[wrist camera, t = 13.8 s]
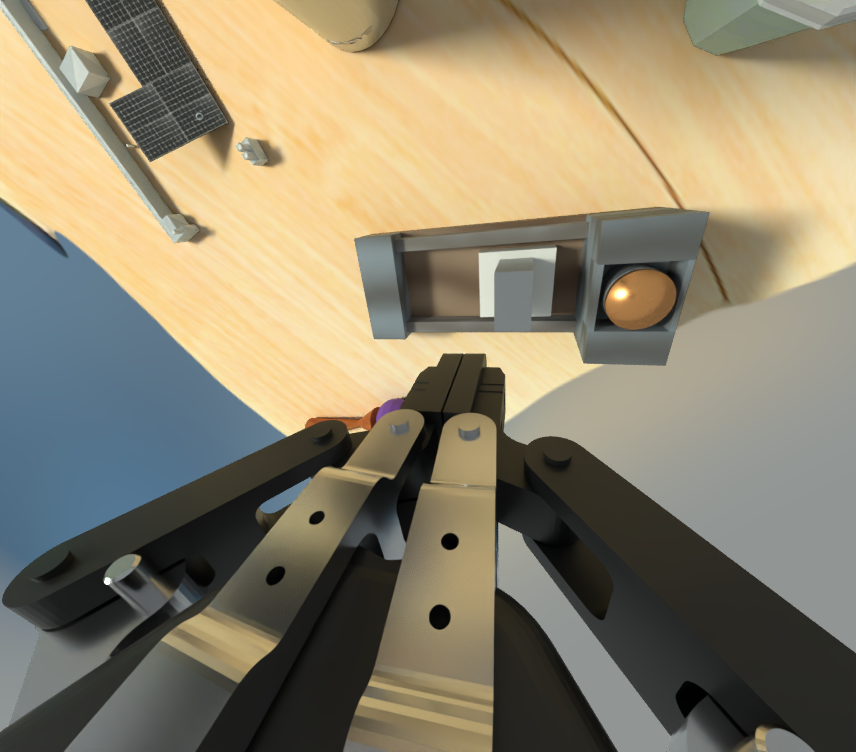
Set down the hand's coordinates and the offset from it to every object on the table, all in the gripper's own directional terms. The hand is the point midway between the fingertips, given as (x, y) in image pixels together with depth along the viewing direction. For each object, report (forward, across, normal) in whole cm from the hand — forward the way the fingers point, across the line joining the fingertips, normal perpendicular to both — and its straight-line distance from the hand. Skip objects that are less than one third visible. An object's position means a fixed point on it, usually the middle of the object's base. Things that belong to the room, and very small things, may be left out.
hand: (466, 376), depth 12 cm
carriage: (+24, -1, +3) cm, 24 cm away
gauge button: (+19, -10, +3) cm, 22 cm away
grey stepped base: (+26, +1, +3) cm, 26 cm away
